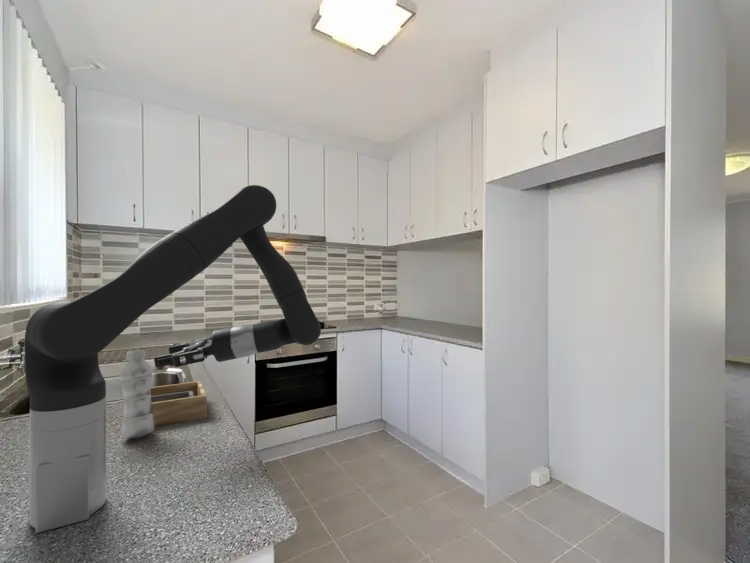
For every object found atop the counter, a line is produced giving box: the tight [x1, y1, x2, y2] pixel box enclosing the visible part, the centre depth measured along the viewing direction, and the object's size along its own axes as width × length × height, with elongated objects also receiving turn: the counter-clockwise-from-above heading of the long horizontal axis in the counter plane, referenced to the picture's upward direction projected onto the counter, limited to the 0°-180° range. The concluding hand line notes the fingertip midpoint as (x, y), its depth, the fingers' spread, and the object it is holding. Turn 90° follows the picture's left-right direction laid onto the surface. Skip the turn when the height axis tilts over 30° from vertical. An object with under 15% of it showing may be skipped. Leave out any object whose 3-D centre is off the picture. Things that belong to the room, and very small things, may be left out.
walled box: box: [151, 380, 208, 428], centre depth 100 cm, size 18×18×6 cm
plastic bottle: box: [119, 349, 156, 439], centre depth 85 cm, size 6×7×20 cm
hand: (162, 356), depth 82 cm, fingers open, 8 cm apart
